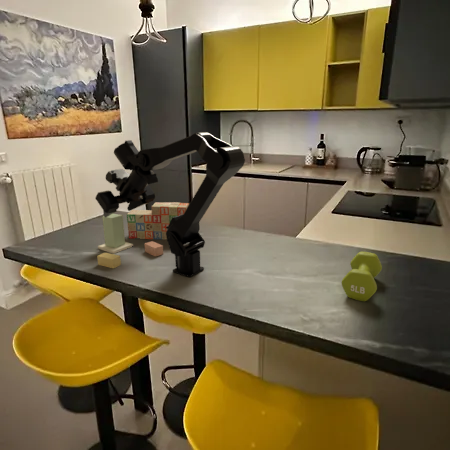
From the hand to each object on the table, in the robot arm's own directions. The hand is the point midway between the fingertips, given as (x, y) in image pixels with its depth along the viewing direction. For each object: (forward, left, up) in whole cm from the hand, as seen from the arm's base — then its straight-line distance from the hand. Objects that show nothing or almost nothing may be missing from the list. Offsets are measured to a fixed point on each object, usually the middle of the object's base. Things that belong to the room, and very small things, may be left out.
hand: (116, 212), depth 108 cm
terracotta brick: (-12, -4, -13) cm, 18 cm away
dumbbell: (-72, -18, -13) cm, 75 cm away
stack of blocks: (-2, -16, -13) cm, 21 cm away
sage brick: (+3, 0, -11) cm, 12 cm away
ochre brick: (-8, +10, -13) cm, 18 cm away
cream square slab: (+2, 0, -13) cm, 13 cm away
